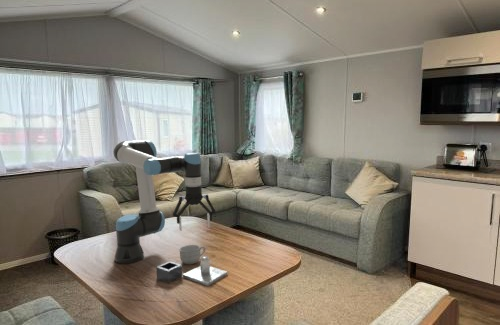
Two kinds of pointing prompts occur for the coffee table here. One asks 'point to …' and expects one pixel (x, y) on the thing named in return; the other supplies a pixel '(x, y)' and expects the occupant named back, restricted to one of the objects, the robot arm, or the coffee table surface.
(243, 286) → the coffee table surface
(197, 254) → the teacup
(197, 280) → the grey plate with post
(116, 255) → the robot arm
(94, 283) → the coffee table surface
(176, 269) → the grey square hollow block
